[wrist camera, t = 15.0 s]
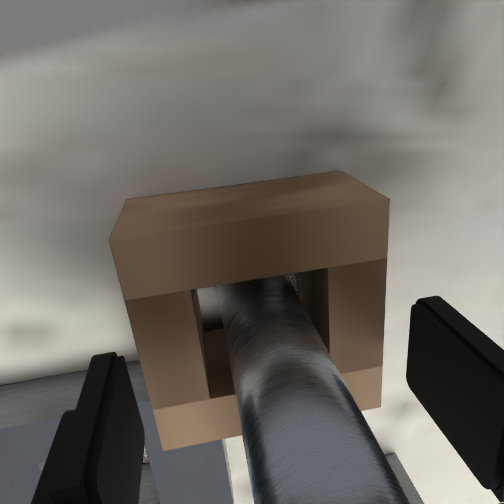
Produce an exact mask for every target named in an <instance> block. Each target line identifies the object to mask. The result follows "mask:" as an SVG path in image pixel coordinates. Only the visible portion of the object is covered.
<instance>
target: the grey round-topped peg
mask: <svg viewBox="0 0 504 504" xmlns="http://www.w3.org/2000/svg"><path fill="white" fill-rule="evenodd" d="M216 287H217V293H218V299H219V305H220V310H221V316H222V322H223V327H224V333H225V339H226V344H227V350H228V356H229V362H230V367H231V373H232V379H233V384H234V390H235V396H236V402H237V407H238V413H239V419H240V424H241V430H242V436H243V442H244V447H245V453H246V459H247V464H248V470H249V476H250V481H251V487H252V493H253V499H254V504H411V502H410V501H409V499H408V497H407V495H406V493H405V491H404V490H403V488H402V486H401V484H400V482H399V480H398V479H397V477H396V475H395V473H394V471H393V469H392V468H391V466H390V464H389V462H388V460H387V458H386V457H385V455H384V453H383V451H382V449H381V447H380V446H379V444H378V442H377V440H376V438H375V436H374V435H373V433H372V431H371V429H370V427H369V425H368V424H367V422H366V420H365V418H364V416H363V414H362V413H361V411H360V409H359V407H358V405H357V403H356V402H355V400H354V398H353V396H352V394H351V392H350V391H349V389H348V387H347V385H346V383H345V381H344V380H343V378H342V376H341V374H340V372H339V370H338V369H337V367H336V365H335V363H334V361H333V359H332V358H331V356H330V354H329V352H328V350H327V348H326V347H325V345H324V343H323V341H322V339H321V337H320V336H319V334H318V332H317V330H316V328H315V326H314V325H313V323H312V321H311V319H310V317H309V315H308V314H307V312H306V310H305V308H304V306H303V304H302V303H301V301H300V299H299V297H298V295H297V293H296V292H295V290H294V288H293V286H292V284H291V282H290V281H289V279H288V277H287V275H286V274H285V275H279V276H273V277H267V278H260V279H254V280H248V281H242V282H236V283H229V284H223V285H217V286H216Z"/></svg>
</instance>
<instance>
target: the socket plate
mask: <svg viewBox="0 0 504 504" xmlns="http://www.w3.org/2000/svg"><path fill="white" fill-rule="evenodd" d="M126 365H127V369H128V372H129V376H130V380H131V383H132V387H133V390H134V394H135V398H136V401H137V405H138V408H139V412H140V416H141V419H142V423H143V427H144V432H145V449H146V452H147V456H148V459H149V463H148V464H143V465H142V474H141V484H140V494H139V504H234V498H233V490H232V482H231V474H230V468H229V462H228V457H227V451H226V445H225V439H220V440H215V441H210V442H206V443H201V444H196V445H191V446H186V447H181V448H176V449H171V450H166V451H163V448H162V444H161V440H160V436H159V432H158V429H157V425H156V421H155V417H154V413H153V409H152V405H151V402H150V398H149V394H148V390H147V386H146V382H145V378H144V374H143V371H142V367H141V363H140V361H136V362H131V363H126ZM87 371H88V370H86V371H80V372H74V373H69V374H63V375H57V376H52V377H46V378H41V379H35V380H29V381H24V382H18V383H12V384H7V385H1V386H0V504H31V501H32V499H33V496H34V493H35V490H36V487H37V485H38V482H39V479H40V476H41V473H42V470H43V468H44V465H45V462H46V459H47V456H48V454H49V451H50V448H51V445H52V442H53V439H54V437H55V434H56V431H57V428H58V425H59V423H60V420H61V417H62V415H63V413H64V412H65V411H68V410H73V409H76V406H77V402H78V399H79V396H80V393H81V390H82V387H83V384H84V381H85V378H86V374H87Z"/></svg>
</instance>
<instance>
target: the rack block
mask: <svg viewBox="0 0 504 504" xmlns="http://www.w3.org/2000/svg"><path fill="white" fill-rule="evenodd" d="M389 202H390V199H389V198H387V197H385V196H384V195H382V194H380V193H378V192H377V191H375V190H373V189H371V188H370V187H368V186H366V185H364V184H363V183H361V182H359V181H357V180H356V179H354V178H352V177H350V176H349V175H347V174H345V173H343V172H342V171H336V172H328V173H321V174H313V175H306V176H299V177H291V178H284V179H276V180H269V181H262V182H254V183H247V184H239V185H232V186H225V187H217V188H210V189H202V190H195V191H188V192H180V193H173V194H165V195H158V196H151V197H143V198H136V199H128V200H126V202H125V205H124V207H123V209H122V211H121V214H120V216H119V218H118V220H117V222H116V225H115V227H114V229H113V231H112V233H111V236H110V238H109V243H110V247H111V251H112V255H113V258H114V262H115V266H116V270H117V274H118V278H119V282H120V286H121V289H122V293H123V297H124V301H125V305H126V309H127V313H128V316H129V320H130V324H131V328H132V332H133V336H134V340H135V344H136V347H137V351H138V355H139V359H140V363H141V367H142V371H143V374H144V378H145V382H146V386H147V390H148V394H149V398H150V402H151V405H152V409H153V413H154V417H155V421H156V425H157V429H158V432H159V436H160V440H161V444H162V448H163V451H166V450H171V449H176V448H181V447H186V446H191V445H196V444H201V443H206V442H210V441H215V440H220V439H225V438H230V437H235V436H240V435H242V430H241V424H240V419H239V413H238V407H237V402H236V396H235V390H234V384H233V379H232V373H231V367H230V362H229V356H228V350H227V344H226V339H225V333H224V328H222V329H217V330H211V331H205V332H204V330H203V324H202V318H201V312H200V307H199V301H198V295H197V289H198V288H205V287H211V286H217V285H223V284H229V283H236V282H242V281H248V280H254V279H260V278H267V277H273V276H279V275H285V274H291V273H297V276H298V293H299V299H300V301H301V303H302V304H303V306H304V308H305V310H306V312H307V314H308V315H309V317H310V319H311V321H312V323H313V325H314V326H315V328H316V330H317V332H318V334H319V336H320V337H321V339H322V341H323V343H324V345H325V347H326V348H327V350H328V352H329V354H330V356H331V358H332V359H333V361H334V363H335V365H336V367H337V369H338V370H339V372H340V374H341V376H342V378H343V380H344V381H345V383H346V385H347V387H348V389H349V391H350V392H351V394H352V396H353V398H354V400H355V402H356V403H357V405H358V407H359V409H360V411H363V410H368V409H373V408H378V407H381V389H382V366H383V342H384V319H385V296H386V272H387V249H388V226H389Z"/></svg>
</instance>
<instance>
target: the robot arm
mask: <svg viewBox="0 0 504 504" xmlns="http://www.w3.org/2000/svg"><path fill="white" fill-rule="evenodd" d="M406 379H407V383H408V386H409V388H410V389H411V391H412V392H413V393H414V395H415V396H416V397H417V399H418V400H419V401H420V403H421V404H422V405H423V407H424V408H425V409H426V411H427V412H428V414H429V415H430V416H431V418H432V419H433V420H434V422H435V423H436V424H437V426H438V427H439V428H440V430H441V431H442V432H443V434H444V435H445V436H446V438H447V439H448V441H449V442H450V443H451V445H452V446H453V447H454V449H455V450H456V451H457V453H458V454H459V455H460V457H461V458H462V459H463V461H464V462H465V463H466V465H467V466H468V468H469V469H470V470H471V472H472V473H473V474H474V476H475V477H476V478H477V480H478V481H479V482H480V484H481V485H482V486H483V487H484V488H486V489H491V491H492V492H493V493H494V495H495V496H496V497H497V499H498V500H499V501H500V502H504V350H503V349H502V348H501V347H500V346H498V345H497V344H496V343H495V342H494V341H492V340H491V339H490V338H489V337H488V336H486V335H485V334H484V333H483V332H482V331H480V330H479V329H478V328H477V327H476V326H474V325H473V324H472V323H471V322H470V321H468V320H467V319H466V318H465V317H464V316H463V315H461V314H460V313H459V312H458V311H457V310H455V309H454V308H453V307H452V306H451V305H449V304H448V303H447V302H446V301H445V300H443V299H442V298H441V297H439V296H432V297H426V298H420V299H418V300H417V301H416V304H414V305H412V307H411V316H410V330H409V343H408V357H407V371H406ZM144 445H145V432H144V427H143V423H142V419H141V416H140V412H139V408H138V405H137V401H136V398H135V394H134V390H133V387H132V383H131V380H130V376H129V372H128V369H127V365H126V361H125V358H124V356H118V357H117V354H116V353H115V352H110V353H105V354H99V355H94V356H93V357H92V359H91V362H90V365H89V368H88V371H87V374H86V378H85V381H84V384H83V387H82V390H81V393H80V396H79V399H78V402H77V406H76V409H73V410H68V411H65V412H64V413H63V415H62V417H61V420H60V423H59V425H58V428H57V431H56V434H55V437H54V439H53V442H52V445H51V448H50V451H49V454H48V456H47V459H46V462H45V465H44V468H43V470H42V473H41V476H40V479H39V482H38V485H37V487H36V490H35V493H34V496H33V499H32V501H31V504H139V494H140V484H141V474H142V464H143V455H144ZM500 504H504V503H500Z"/></svg>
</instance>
